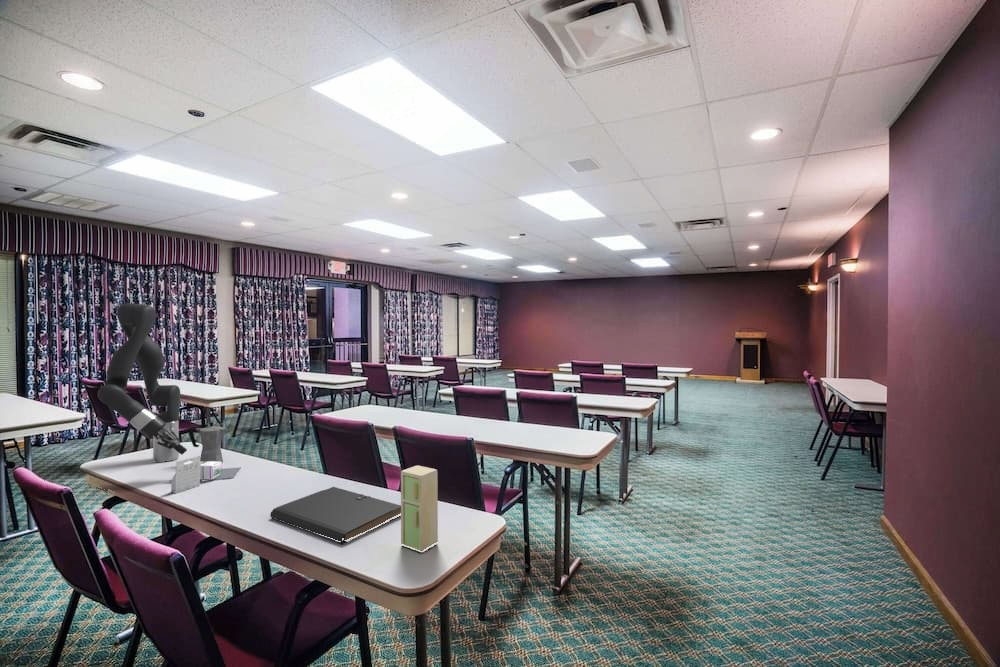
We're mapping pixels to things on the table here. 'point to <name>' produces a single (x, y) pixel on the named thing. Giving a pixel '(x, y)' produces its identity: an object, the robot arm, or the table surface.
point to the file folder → (336, 513)
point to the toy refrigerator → (419, 507)
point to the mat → (226, 473)
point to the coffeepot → (209, 442)
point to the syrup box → (209, 469)
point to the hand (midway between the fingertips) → (184, 452)
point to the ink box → (186, 475)
